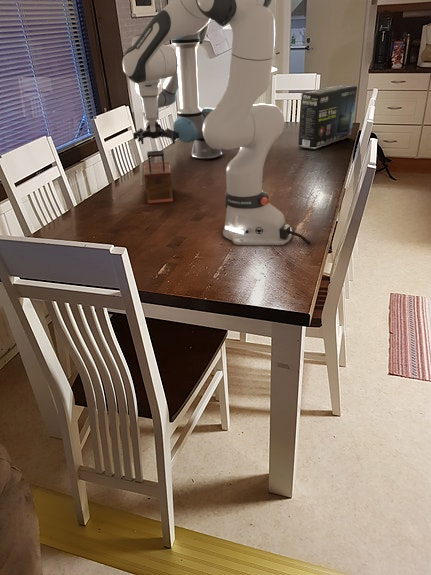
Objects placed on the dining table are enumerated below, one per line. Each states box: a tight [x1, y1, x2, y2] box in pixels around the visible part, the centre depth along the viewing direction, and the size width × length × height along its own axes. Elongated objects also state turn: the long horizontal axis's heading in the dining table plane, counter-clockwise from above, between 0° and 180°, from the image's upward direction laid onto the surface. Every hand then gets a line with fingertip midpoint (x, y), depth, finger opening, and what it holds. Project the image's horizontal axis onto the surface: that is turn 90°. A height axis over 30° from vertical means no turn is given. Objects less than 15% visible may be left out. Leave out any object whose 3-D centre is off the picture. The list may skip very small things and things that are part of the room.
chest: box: [144, 174, 174, 204], centre depth 180 cm, size 14×10×10 cm
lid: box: [143, 149, 172, 178], centre depth 175 cm, size 14×10×8 cm
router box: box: [297, 84, 358, 151], centre depth 238 cm, size 36×11×27 cm, turn 134°
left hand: (158, 140), depth 197 cm, fingers open, 13 cm apart
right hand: (152, 128), depth 165 cm, fingers open, 8 cm apart
